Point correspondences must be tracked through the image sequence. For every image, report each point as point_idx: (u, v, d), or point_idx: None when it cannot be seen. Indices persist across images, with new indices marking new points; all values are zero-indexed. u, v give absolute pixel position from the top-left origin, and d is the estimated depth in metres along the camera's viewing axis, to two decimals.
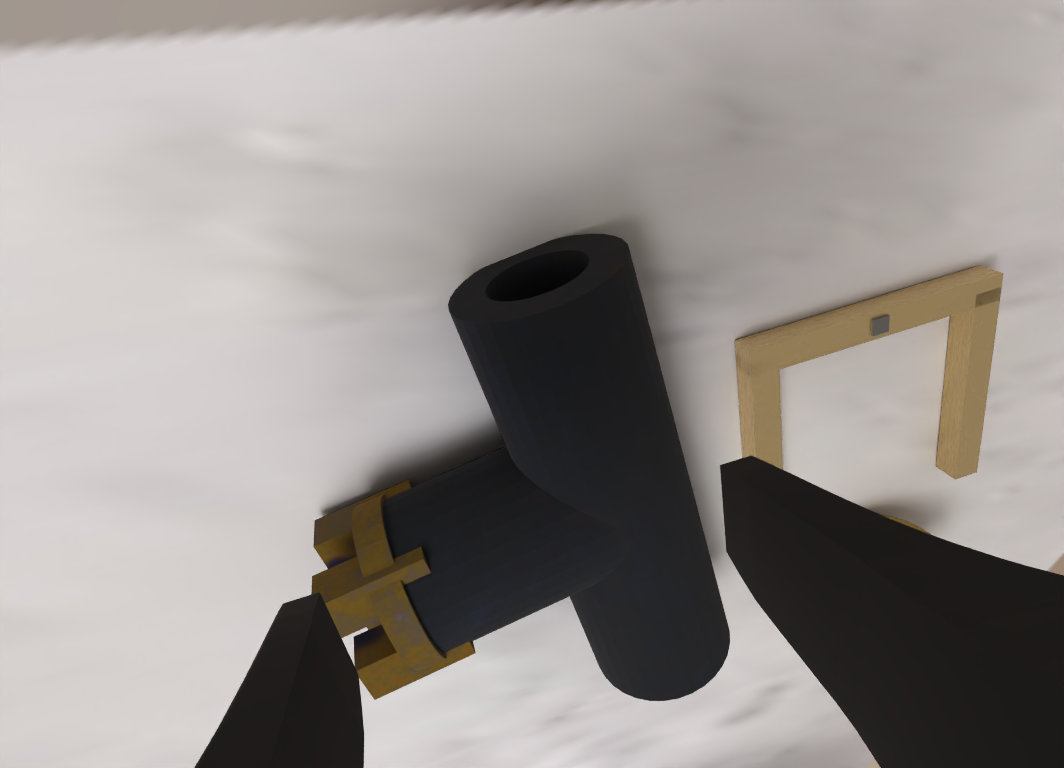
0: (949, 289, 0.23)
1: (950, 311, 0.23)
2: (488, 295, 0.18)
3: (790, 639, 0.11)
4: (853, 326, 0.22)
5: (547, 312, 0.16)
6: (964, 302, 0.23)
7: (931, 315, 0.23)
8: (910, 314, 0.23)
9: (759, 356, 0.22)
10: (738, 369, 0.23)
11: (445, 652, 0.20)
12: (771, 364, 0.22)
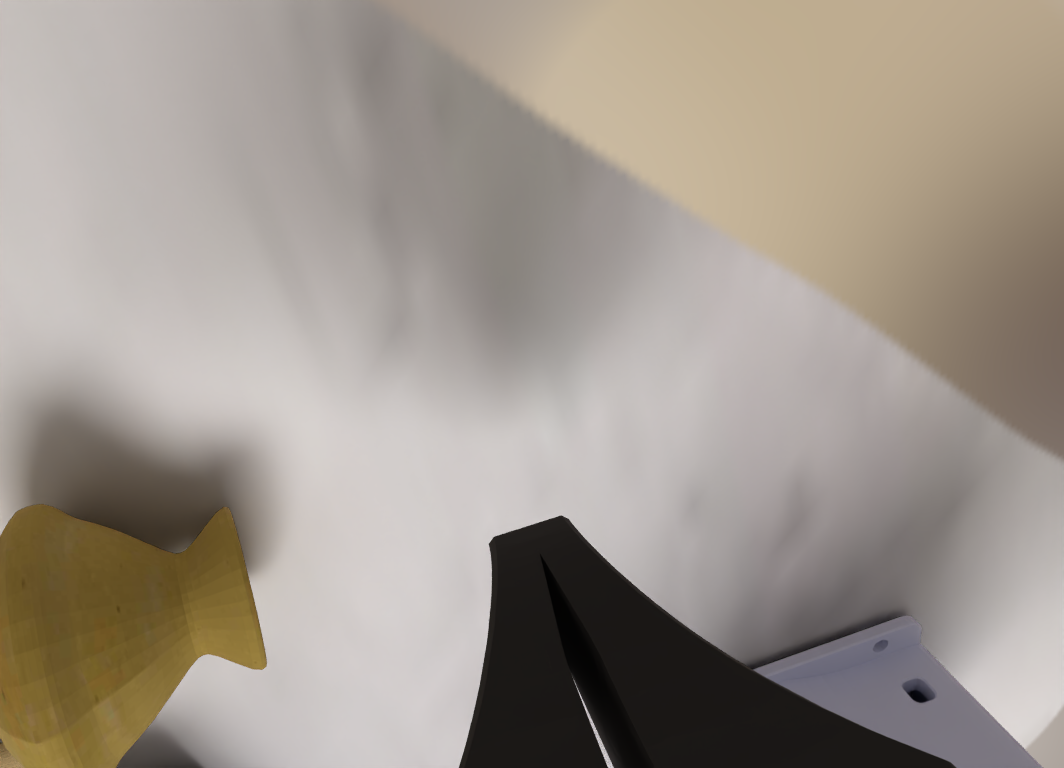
0: None
1: None
2: None
3: (589, 711, 0.11)
4: None
5: None
6: None
7: None
8: None
9: None
10: None
11: None
12: None
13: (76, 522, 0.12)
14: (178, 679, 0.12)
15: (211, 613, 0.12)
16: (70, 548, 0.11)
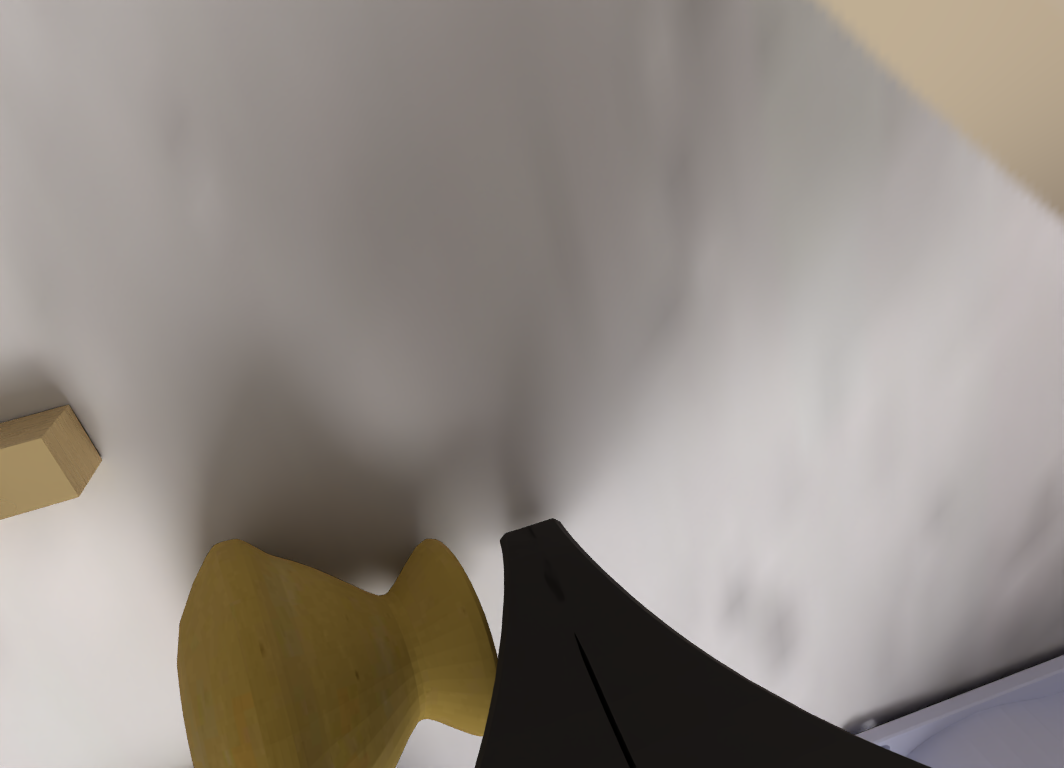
0: None
1: None
2: None
3: None
4: None
5: None
6: None
7: None
8: None
9: None
10: None
11: None
12: None
13: (281, 562, 0.10)
14: (401, 753, 0.10)
15: (444, 673, 0.10)
16: (293, 598, 0.09)
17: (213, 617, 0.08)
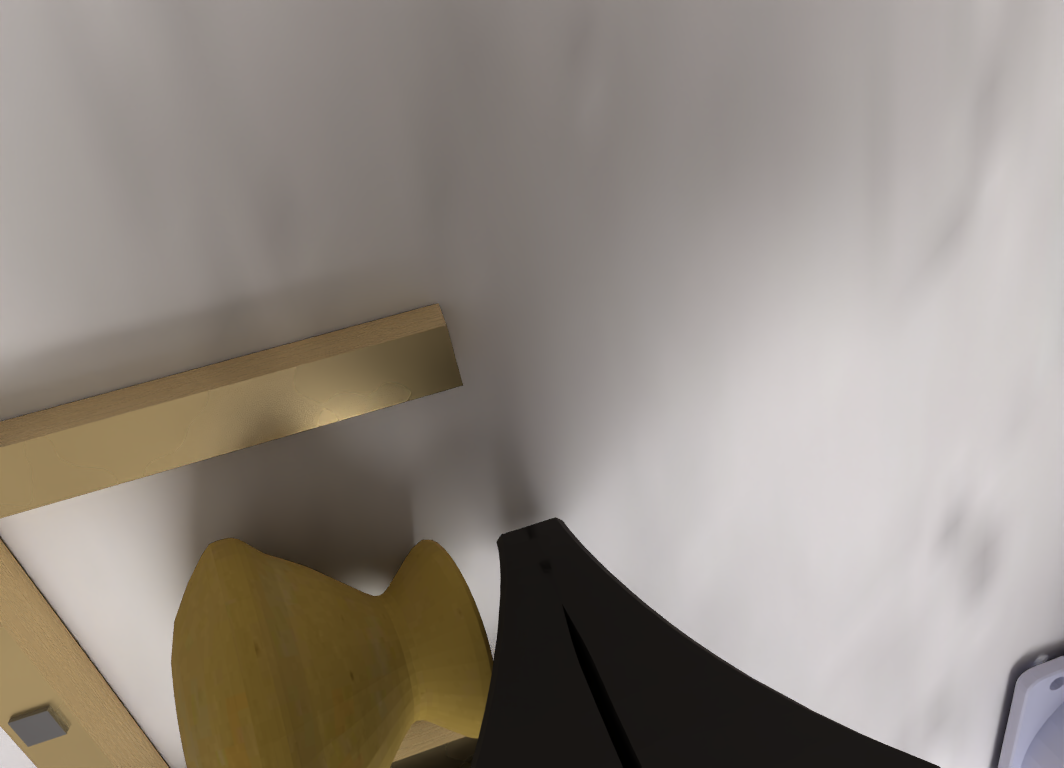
0: None
1: None
2: None
3: None
4: (55, 766, 0.11)
5: None
6: None
7: None
8: None
9: None
10: None
11: None
12: None
13: (277, 561, 0.10)
14: None
15: (440, 674, 0.10)
16: (289, 598, 0.09)
17: (209, 615, 0.08)
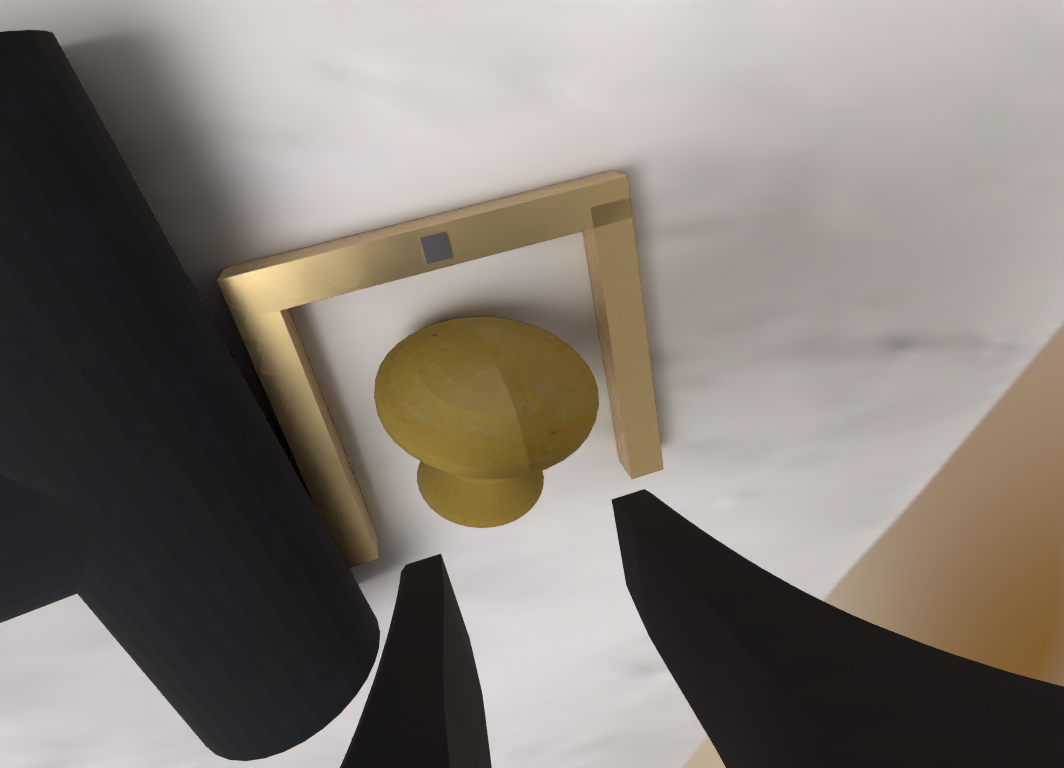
0: (543, 196, 0.15)
1: (553, 231, 0.16)
2: None
3: (677, 679, 0.11)
4: (390, 248, 0.15)
5: None
6: (573, 218, 0.16)
7: (522, 236, 0.16)
8: (485, 233, 0.15)
9: (237, 288, 0.15)
10: None
11: None
12: (263, 302, 0.15)
13: None
14: None
15: (509, 489, 0.17)
16: None
17: (589, 381, 0.16)
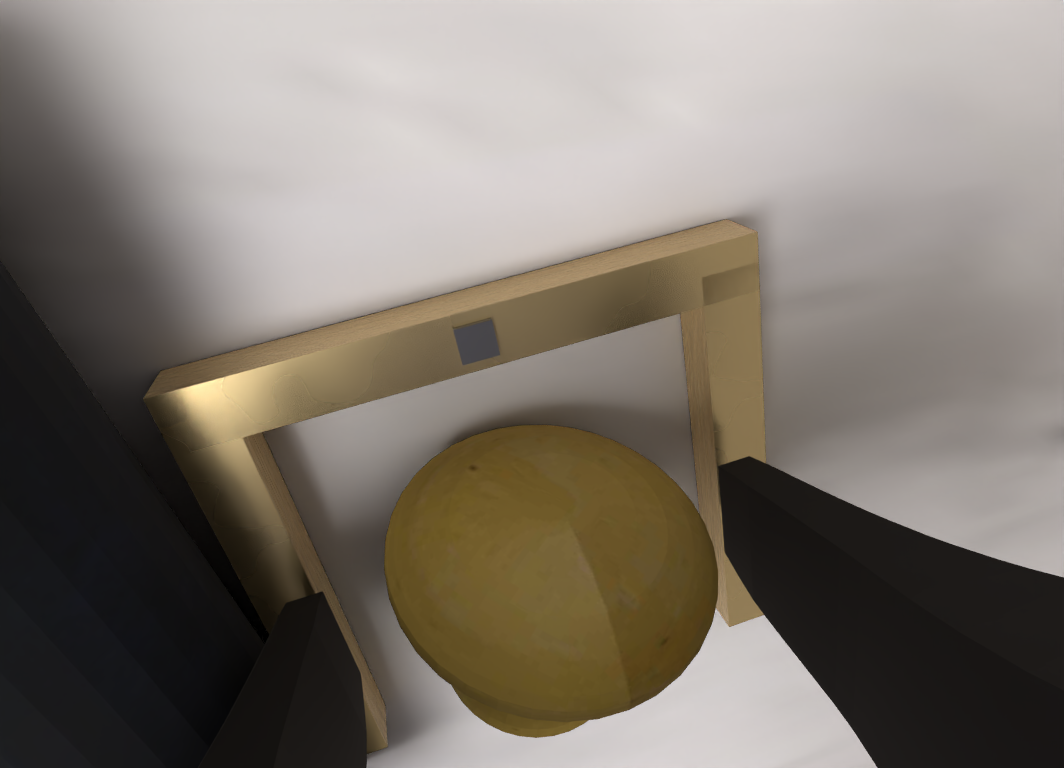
0: (634, 264, 0.10)
1: (647, 313, 0.11)
2: None
3: (788, 640, 0.11)
4: (408, 343, 0.10)
5: None
6: (676, 294, 0.11)
7: (603, 321, 0.11)
8: (549, 318, 0.10)
9: (175, 410, 0.10)
10: None
11: None
12: (216, 427, 0.10)
13: None
14: None
15: None
16: None
17: (702, 535, 0.11)
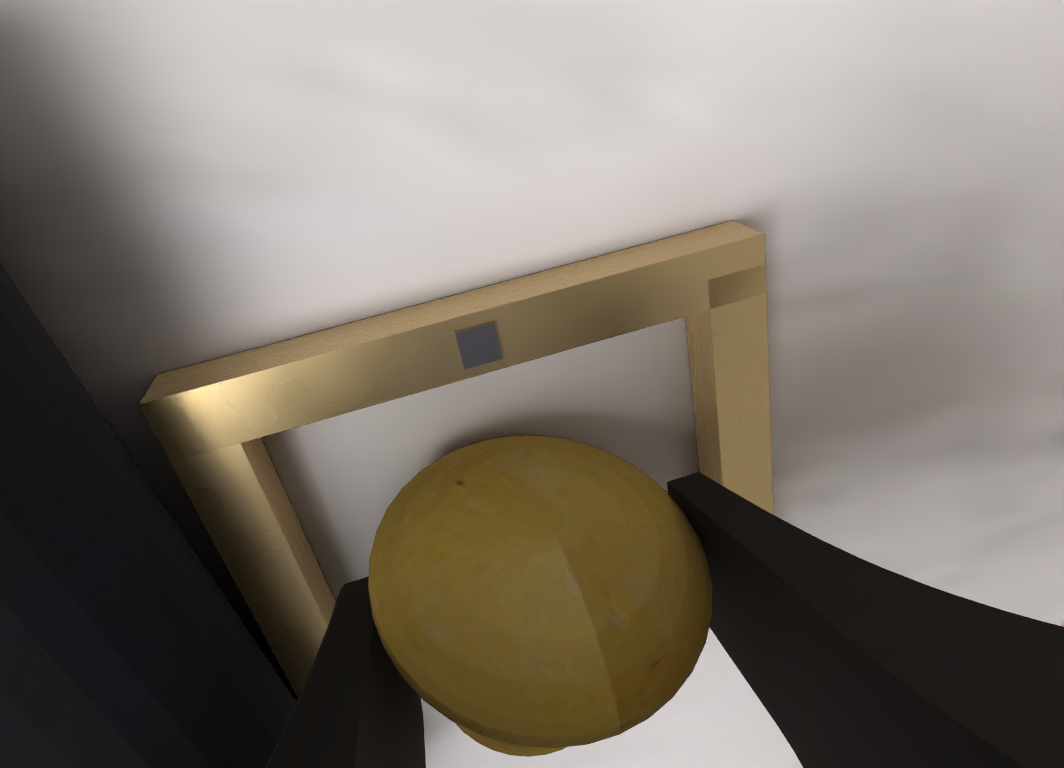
0: (640, 266, 0.10)
1: (652, 316, 0.11)
2: None
3: (734, 658, 0.11)
4: (409, 347, 0.10)
5: None
6: (681, 296, 0.11)
7: (607, 324, 0.10)
8: (552, 321, 0.10)
9: (171, 415, 0.09)
10: None
11: None
12: (213, 432, 0.10)
13: None
14: None
15: None
16: None
17: (695, 550, 0.10)
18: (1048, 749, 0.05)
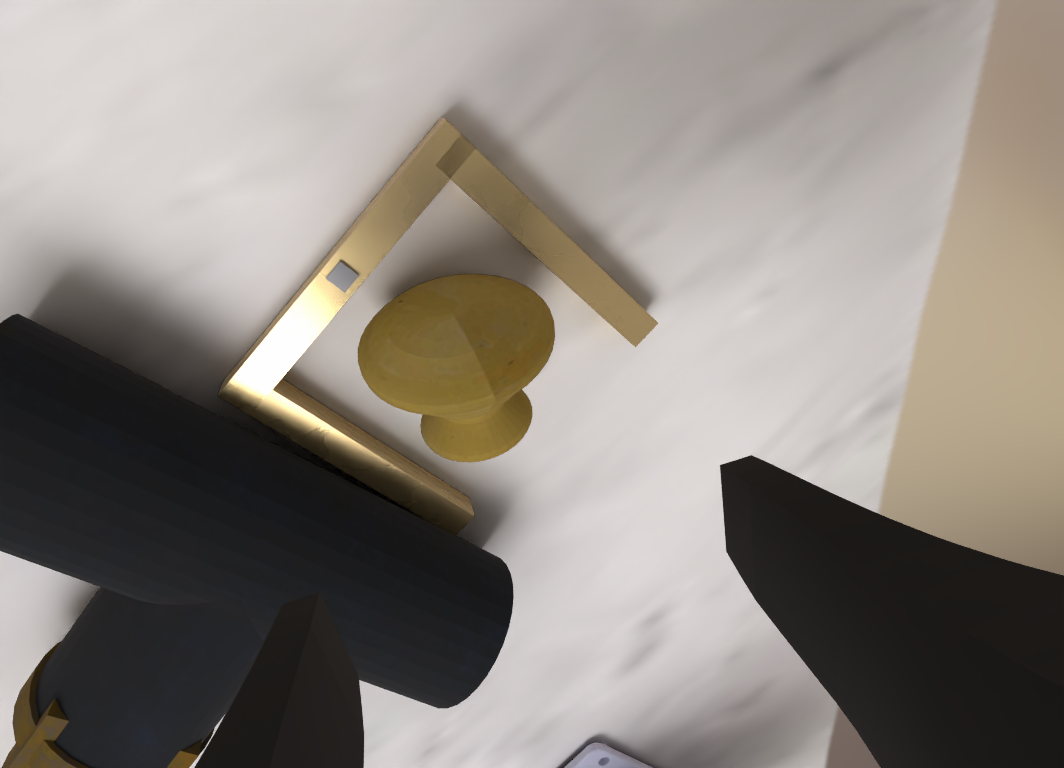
0: (392, 183, 0.17)
1: (420, 203, 0.17)
2: None
3: (790, 639, 0.11)
4: (311, 298, 0.18)
5: None
6: (428, 183, 0.17)
7: (400, 223, 0.17)
8: (370, 241, 0.17)
9: (234, 393, 0.18)
10: None
11: None
12: (257, 391, 0.18)
13: None
14: None
15: (498, 423, 0.19)
16: None
17: (542, 312, 0.17)
18: None
